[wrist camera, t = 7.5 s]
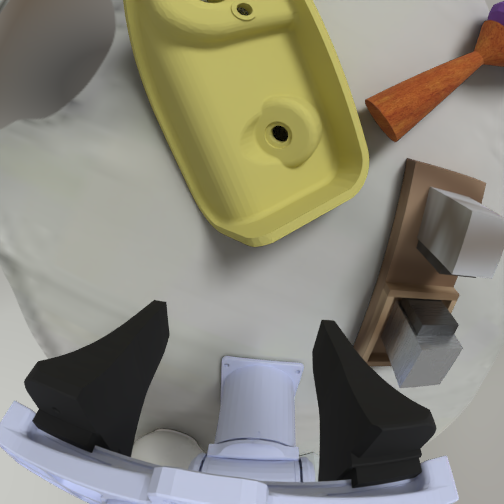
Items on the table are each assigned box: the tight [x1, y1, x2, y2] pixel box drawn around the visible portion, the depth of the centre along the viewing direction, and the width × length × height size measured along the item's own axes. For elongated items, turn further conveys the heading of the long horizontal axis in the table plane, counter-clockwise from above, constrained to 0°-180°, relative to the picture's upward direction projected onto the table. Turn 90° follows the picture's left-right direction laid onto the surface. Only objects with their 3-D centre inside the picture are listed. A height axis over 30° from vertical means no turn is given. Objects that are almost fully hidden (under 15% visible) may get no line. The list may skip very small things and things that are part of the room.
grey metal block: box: [381, 298, 463, 388], centre depth 20 cm, size 5×4×6 cm
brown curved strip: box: [131, 429, 204, 469], centre depth 32 cm, size 13×13×11 cm
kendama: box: [365, 1, 504, 142], centre depth 12 cm, size 6×6×20 cm
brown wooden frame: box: [353, 158, 504, 366], centre depth 19 cm, size 18×7×7 cm, turn 175°
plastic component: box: [123, 0, 369, 247], centre depth 15 cm, size 20×7×10 cm
